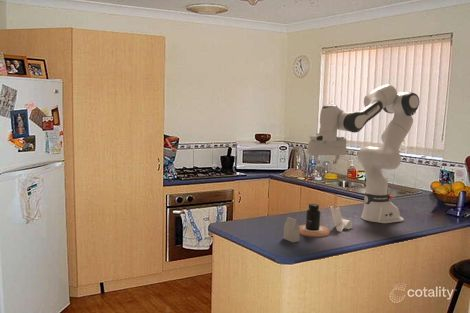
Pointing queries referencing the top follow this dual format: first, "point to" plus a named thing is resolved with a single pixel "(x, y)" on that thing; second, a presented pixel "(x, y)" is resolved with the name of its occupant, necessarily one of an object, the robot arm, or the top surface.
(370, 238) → the top surface
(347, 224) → the plastic part
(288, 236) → the tea bag
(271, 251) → the top surface
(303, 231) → the peach rimmed plate
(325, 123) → the robot arm
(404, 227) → the top surface
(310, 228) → the supplement bottle
